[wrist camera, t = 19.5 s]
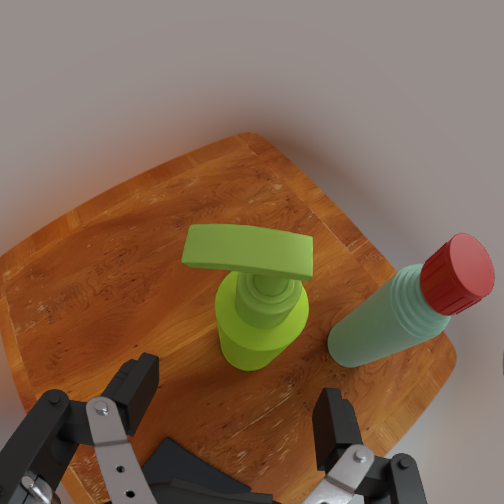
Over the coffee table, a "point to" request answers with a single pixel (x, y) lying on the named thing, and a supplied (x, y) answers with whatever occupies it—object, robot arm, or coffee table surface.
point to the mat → (187, 469)
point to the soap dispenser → (254, 287)
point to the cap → (457, 275)
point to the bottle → (386, 322)
